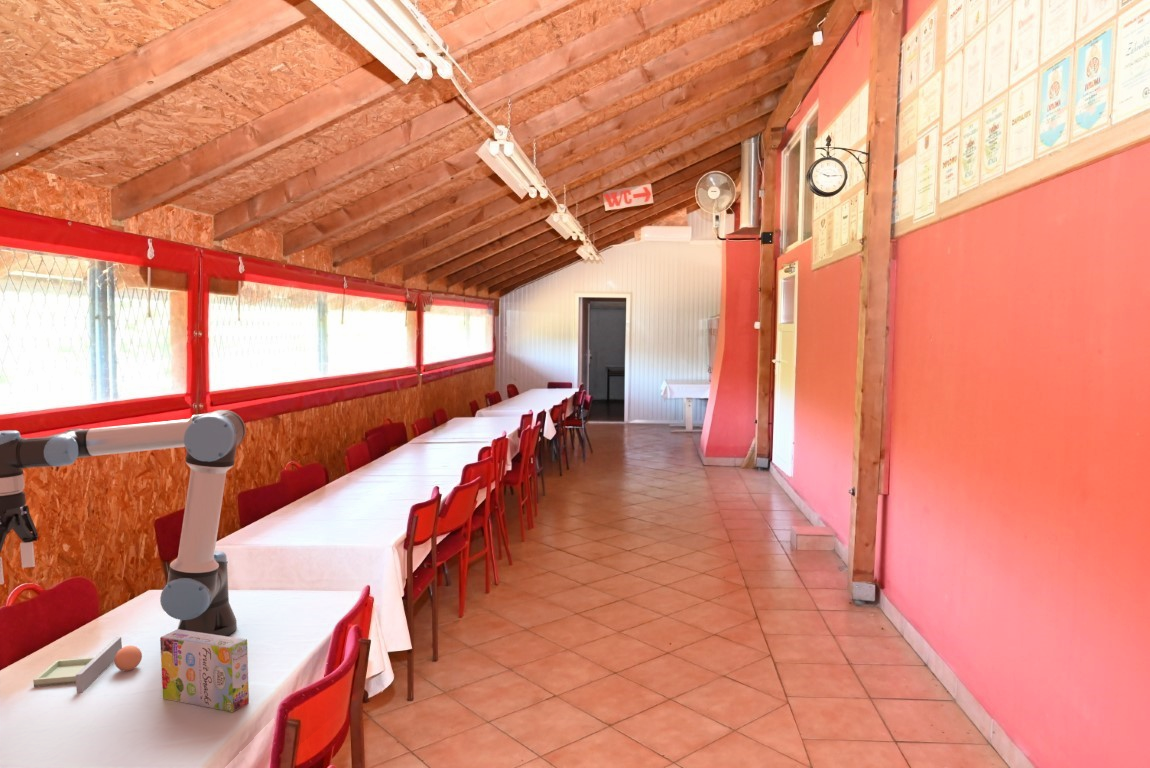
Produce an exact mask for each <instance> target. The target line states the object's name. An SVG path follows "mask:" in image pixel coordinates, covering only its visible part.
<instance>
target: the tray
mask: <svg viewBox="0 0 1150 768" xmlns="http://www.w3.org/2000/svg"><path fill="white" fill-rule="evenodd" d="M94 657H95V656H91V657H80V658H65V659H57V660H55V661H54V662H53V663H52V664H50V665H49V666H48V667H47V668H46V669H44V670H43V671H42V672H41V673H39V674H38V675H37V676H36V677H35V678H34V679H33V688H38V686H40V687H48V686H51V685H52V686H61V685H63V686H64V685H72V684H76V674H77V673H78V672H79V671H80V670H81V669H82V668H84V667H85V666H86V665H87V664H88V663H89V662H90V661H91V660H92V659H93V658H94ZM52 686H51V687H52Z"/></svg>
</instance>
